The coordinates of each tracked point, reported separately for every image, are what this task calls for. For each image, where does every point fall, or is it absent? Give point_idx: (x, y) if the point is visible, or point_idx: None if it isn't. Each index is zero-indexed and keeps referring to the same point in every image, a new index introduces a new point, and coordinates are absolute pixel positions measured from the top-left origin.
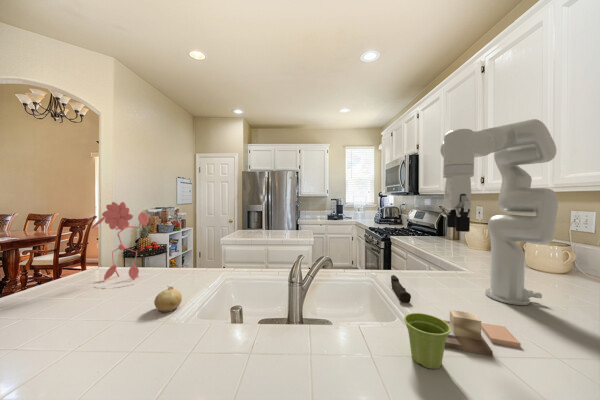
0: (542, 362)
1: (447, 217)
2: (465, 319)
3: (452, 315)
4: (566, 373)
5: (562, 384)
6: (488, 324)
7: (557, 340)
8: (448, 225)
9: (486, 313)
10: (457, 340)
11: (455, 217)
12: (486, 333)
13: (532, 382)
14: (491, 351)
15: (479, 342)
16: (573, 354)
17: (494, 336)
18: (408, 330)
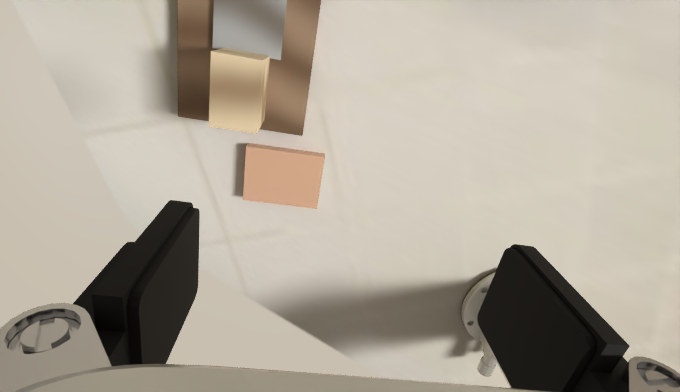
0: (200, 204)
1: (579, 313)
2: (211, 85)
3: (227, 53)
4: None
5: (135, 195)
6: (318, 175)
7: (300, 281)
8: (511, 256)
9: (405, 209)
10: (199, 46)
11: (538, 383)
12: (276, 149)
13: (116, 145)
14: (178, 114)
15: None
16: (252, 275)
17: (256, 158)
18: None
